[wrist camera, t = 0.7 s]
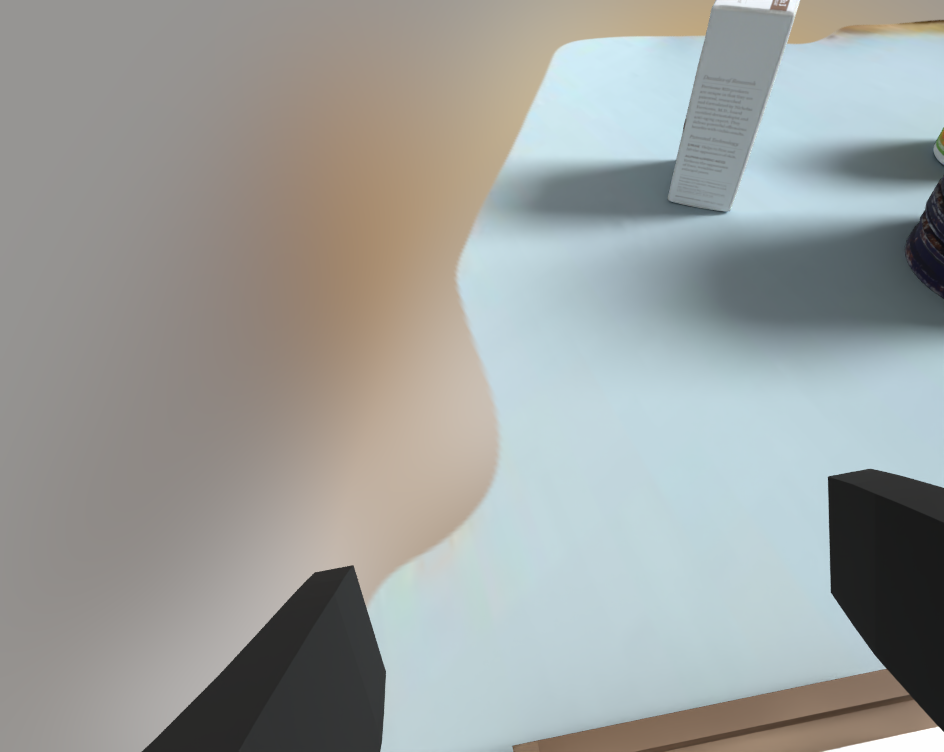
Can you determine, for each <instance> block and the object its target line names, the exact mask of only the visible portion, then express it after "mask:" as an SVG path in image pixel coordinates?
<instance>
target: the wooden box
mask: <svg viewBox="0 0 944 752" xmlns="http://www.w3.org/2000/svg"><path fill="white" fill-rule="evenodd" d="M937 727H938V726H937V725H936V723H935V722H934V721H933V720H932V719H931V718H930V717H929V716H928V715H927V714H926V712H925V711H924V710H923V709H922V708H921V707H920V706H919V705H918V703H917V702H916V701H915V700H914V699H913V698H912V697H911V696H910V694H909V693H908V692H907V691H906V690H905V689H904V688H903V687H902V685H901V684H900V683H899V682H898V681H897V680H896V679H895V678H894V676H893V675H892V674H891V673H890V672H889V671H888V670H887V669H884V670H879V671H874V672H869V673H864V674H859V675H854V676H850V677H845V678H840V679H835V680H830V681H825V682H820V683H815V684H811V685H806V686H801V687H796V688H791V689H786V690H781V691H777V692H772V693H767V694H762V695H757V696H752V697H747V698H743V699H738V700H733V701H728V702H723V703H718V704H713V705H708V706H704V707H699V708H694V709H689V710H684V711H679V712H674V713H670V714H665V715H660V716H655V717H650V718H645V719H640V720H636V721H631V722H626V723H621V724H616V725H611V726H606V727H601V728H597V729H592V730H587V731H582V732H577V733H572V734H567V735H563V736H558V737H553V738H548V739H543V740H538V741H533V742H529V743H524V744H519V745H514V746H513V752H823V751H827V750H832V749H837V748H842V747H846V746H851V745H856V744H861V743H865V742H870V741H875V740H880V739H884V738H889V737H894V736H899V735H903V734H908V733H913V732H918V731H922V730H927V729H932V728H937Z"/></svg>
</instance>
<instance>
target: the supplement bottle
mask: <svg viewBox="0 0 944 752" xmlns="http://www.w3.org/2000/svg"><path fill="white" fill-rule="evenodd" d="M933 150H934V155H935V157H936V158H937V159H938V161H939V162H941V163H942V164H943V165H944V128H943V130H942V132H941V133H940V135H939V137H938V139H937V141H936V143H935V145H934V149H933Z"/></svg>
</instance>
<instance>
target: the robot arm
mask: <svg viewBox="0 0 944 752" xmlns="http://www.w3.org/2000/svg"><path fill="white" fill-rule="evenodd" d="M828 496H829V535H830V575H831V593H832V595H833V596H834V598H835V599H836V601H837V602H838V604H839V605H840V606H841V608H842V609H843V611H844V612H845V614H846V615H847V617H848V618H849V620H850V621H851V623H852V624H853V626H854V627H855V628H856V630H857V631H858V633H859V634H860V635H861V637H862V638H863V639H864V641H865V642H866V644H867V645H868V646H869V648H870V649H871V650H872V652H873V653H874V655H875V656H876V657H877V658H878V659H879V660H880V662H881V663H882V664H883V665H884V666H885V667H886V668H887V670H888V671H889V672H890V673H891V674H892V675H893V676H894V678H895V679H896V680H897V681H898V682H899V683H900V684H901V685H902V687H903V688H904V689H905V690H906V691H907V692H908V693H909V694H910V696H911V697H912V698H913V699H914V700H915V701H916V702H917V703H918V705H919V706H920V707H921V708H922V709H923V710H924V711H925V712H926V714H927V715H928V716H929V717H930V718H931V719H932V720H933V721H934V722H935V723H936V725H937V726H938V727H939V728H940V729H941V730H942V731H943V732H944V488H942V487H938V486H935V485H932V484H928V483H925V482H921V481H918V480H914V479H911V478H907V477H903V476H900V475H896V474H892V473H887V472H883V471H878V470H874V469H866V470H861V471H855V472H850V473H845V474H839V475H834V476H829V477H828ZM385 679H386V671H385V668H384V664H383V661H382V658H381V654H380V651H379V648H378V645H377V641H376V638H375V635H374V631H373V628H372V625H371V622H370V618H369V615H368V612H367V608H366V605H365V602H364V599H363V595H362V592H361V589H360V585H359V582H358V579H357V576H356V572H355V569H354V566H347V567H342V568H337V569H331V570H326V571H321V572H315V573H314V574H313V575H312V576H311V577H310V578H309V579H308V580H307V581H306V582H305V583H304V584H303V585H302V586H301V587H300V588H299V589H298V590H297V591H296V592H295V593H294V594H293V595H292V596H291V598H290V599H289V600H288V601H287V602H286V603H285V604H284V605H283V606H282V607H281V608H280V610H279V611H278V612H277V613H276V614H275V615H274V616H273V617H272V618H271V619H270V621H269V622H268V623H267V624H266V625H265V626H264V627H263V628H262V629H261V630H260V631H259V633H258V634H257V635H256V636H255V637H254V638H253V639H252V640H251V641H250V642H249V644H247V646H246V647H245V648H244V649H243V650H242V651H241V652H240V653H239V654H238V655H237V656H236V657H235V658H234V660H233V661H232V662H231V663H230V664H229V665H228V666H227V667H226V668H225V669H224V671H222V672H221V673H220V675H219V676H218V677H217V678H216V679H215V680H214V681H213V682H212V683H211V684H210V685H209V686H208V687H207V688H206V689H205V690H204V691H203V692H202V693H201V694H200V695H199V696H198V697H197V698H196V699H195V700H194V701H193V702H192V703H191V704H190V705H189V706H188V707H187V708H186V709H185V710H184V711H183V712H182V713H181V714H180V715H179V716H178V717H177V718H176V719H175V720H174V721H173V722H172V723H171V724H170V725H169V726H168V727H167V728H166V729H165V730H164V731H163V732H162V733H161V734H160V735H159V736H158V737H157V738H156V739H155V740H154V741H153V742H152V743H151V744H149V746H147V747H146V748H145V749H144V750H143V751H142V752H380V750H381V744H382V732H383V718H384V700H385Z"/></svg>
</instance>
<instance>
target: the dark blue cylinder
mask: <svg viewBox="0 0 944 752" xmlns="http://www.w3.org/2000/svg"><path fill="white" fill-rule="evenodd" d="M905 256H906V259H907V262H908V264H909V266H910V267H911V269H912V271H913V272H914V273H915V275H916V276H917V277H918V278H919V279H920V280H921V281H922V282H923V283H924V284H925V285H926V286H927V287H929V288H930V289H931V290H932V291H934V292H935V293H937V294H938V295H940V296H941V297H942V298H944V176H943V178H941V179H940V181H939V182H938V184H937V186H936V187H935V189H934V191H933V192H932V194H931V196H930V197H929V199H928V201H927V203H926V208H925V211H924V212H923V214H922V216H921V217H920V222H919V223H918V224H917V225H916V226H915V227H914V229H913V231H912V232H911V234H910V236H909V237H908V239H907V241H906V245H905Z"/></svg>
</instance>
